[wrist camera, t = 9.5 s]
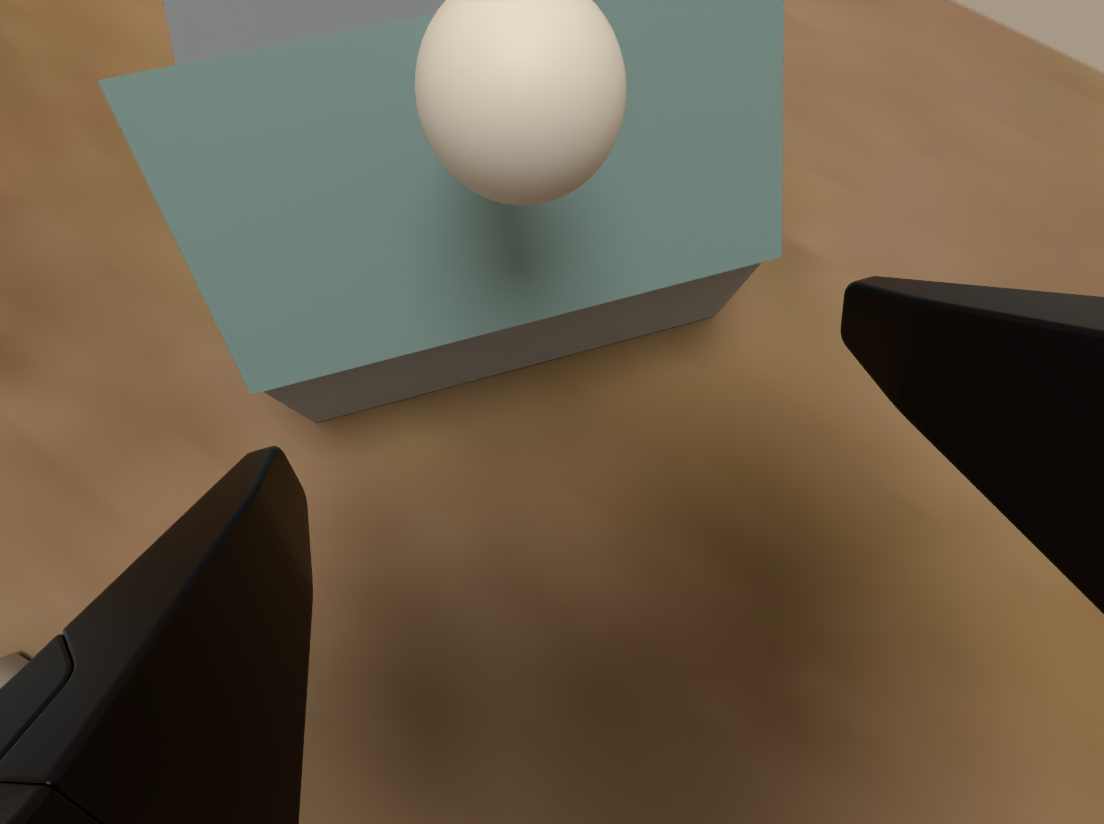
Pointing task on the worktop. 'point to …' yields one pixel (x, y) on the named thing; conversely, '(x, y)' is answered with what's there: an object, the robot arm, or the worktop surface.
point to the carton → (352, 3)
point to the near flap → (462, 171)
